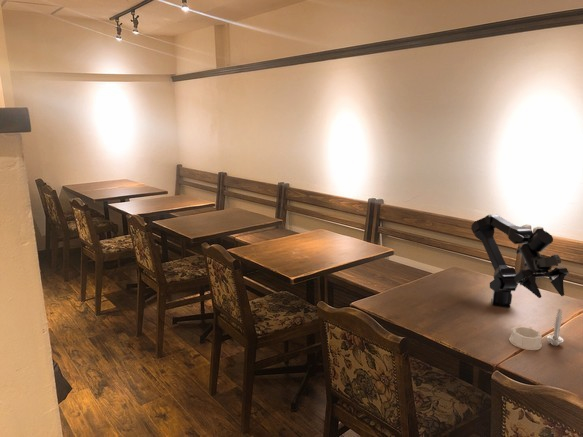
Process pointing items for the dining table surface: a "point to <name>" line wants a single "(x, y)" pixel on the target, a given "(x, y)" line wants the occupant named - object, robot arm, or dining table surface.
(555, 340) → the screw
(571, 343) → the dining table surface
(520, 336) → the white pet bowl
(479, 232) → the robot arm
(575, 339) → the dining table surface
